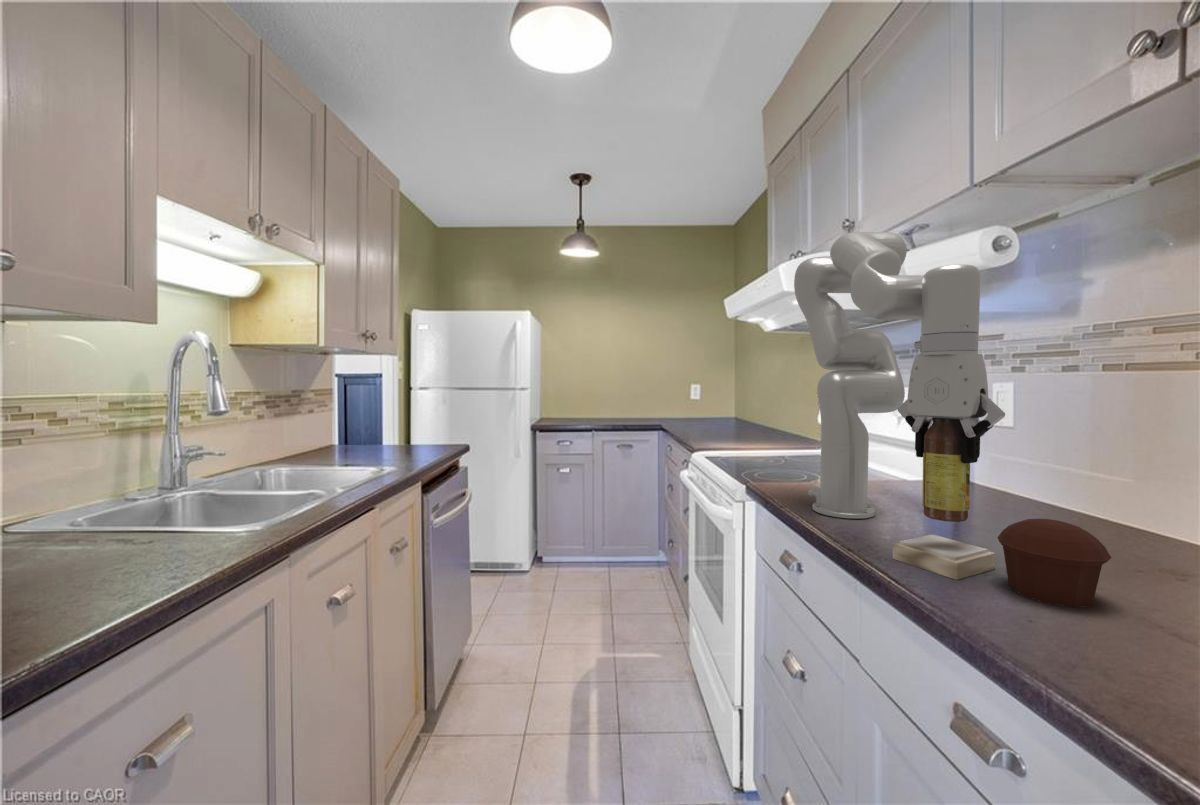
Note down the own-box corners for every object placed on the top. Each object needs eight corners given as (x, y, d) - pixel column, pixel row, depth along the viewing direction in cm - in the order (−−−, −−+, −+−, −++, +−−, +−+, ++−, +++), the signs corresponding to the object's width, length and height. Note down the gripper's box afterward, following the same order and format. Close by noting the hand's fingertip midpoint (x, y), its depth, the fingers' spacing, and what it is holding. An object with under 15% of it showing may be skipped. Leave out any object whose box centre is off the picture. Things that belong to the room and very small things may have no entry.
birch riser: (892, 558, 84) (893, 540, 84) (929, 549, 89) (930, 532, 88) (956, 579, 75) (957, 559, 75) (995, 568, 80) (995, 550, 79)
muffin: (1110, 594, 70) (1113, 522, 70) (1108, 621, 62) (1112, 540, 62) (1001, 571, 79) (1003, 507, 78) (988, 592, 71) (991, 521, 71)
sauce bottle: (977, 525, 78) (982, 394, 77) (931, 522, 79) (936, 394, 78) (956, 513, 84) (960, 393, 83) (914, 511, 85) (918, 393, 84)
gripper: (882, 348, 86) (879, 454, 87) (997, 341, 71) (993, 469, 72) (910, 350, 90) (907, 451, 90) (1026, 343, 74) (1022, 466, 75)
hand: (945, 458), depth 81 cm, fingers closed on sauce bottle, 6 cm apart
